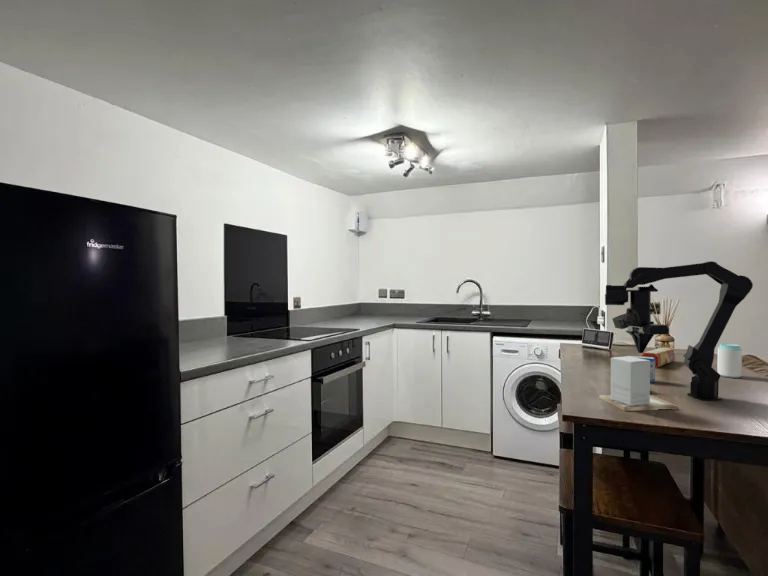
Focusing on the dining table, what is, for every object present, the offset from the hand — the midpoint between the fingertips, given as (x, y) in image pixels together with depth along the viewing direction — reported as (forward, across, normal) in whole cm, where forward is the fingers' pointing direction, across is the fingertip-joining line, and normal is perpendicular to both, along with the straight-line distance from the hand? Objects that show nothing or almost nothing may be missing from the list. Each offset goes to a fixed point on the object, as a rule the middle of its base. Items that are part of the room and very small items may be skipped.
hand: (640, 352), depth 138 cm
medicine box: (+13, -14, +10) cm, 21 cm away
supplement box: (+12, +14, -14) cm, 23 cm away
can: (+13, -17, +47) cm, 52 cm away
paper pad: (+13, +12, -10) cm, 20 cm away
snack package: (+13, -40, +36) cm, 55 cm away
